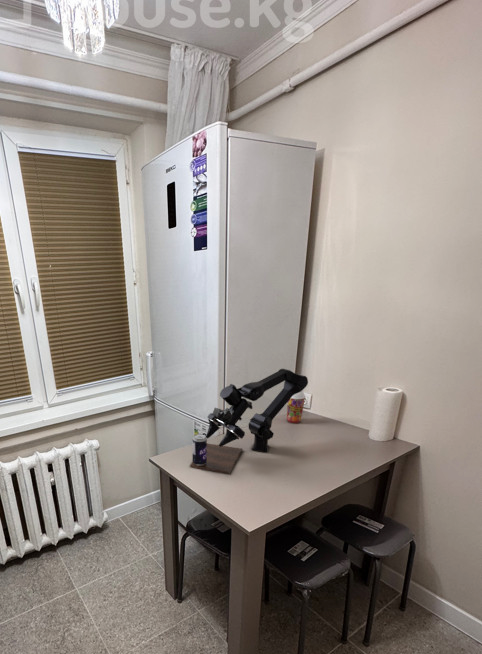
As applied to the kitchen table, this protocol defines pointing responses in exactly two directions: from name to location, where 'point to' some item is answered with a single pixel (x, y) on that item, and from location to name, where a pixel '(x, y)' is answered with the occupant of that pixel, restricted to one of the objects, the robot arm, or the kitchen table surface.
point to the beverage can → (199, 449)
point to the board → (220, 458)
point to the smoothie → (295, 407)
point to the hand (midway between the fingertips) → (213, 441)
